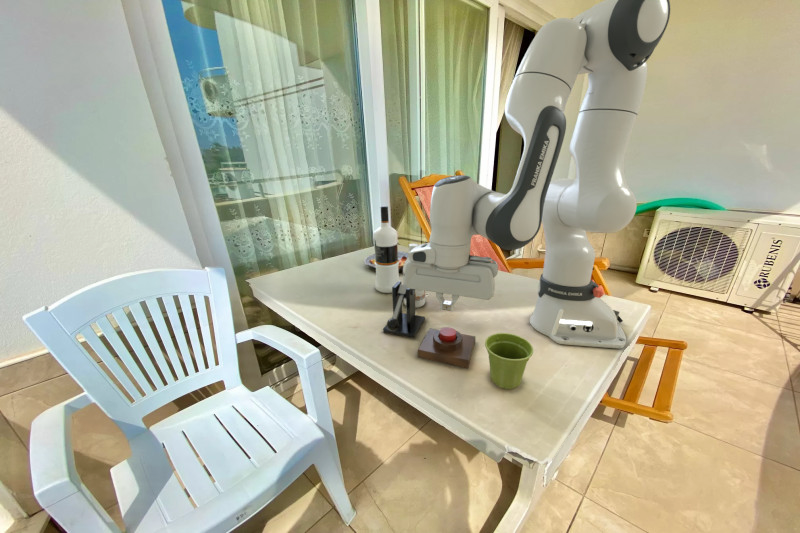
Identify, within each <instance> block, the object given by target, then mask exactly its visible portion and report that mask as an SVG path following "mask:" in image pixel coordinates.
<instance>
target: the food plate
mask: <svg viewBox="0 0 800 533" xmlns="http://www.w3.org/2000/svg"><path fill="white" fill-rule="evenodd" d="M408 254H409V252H407V251H400V250H399V251H398V262H399V264H398V271H399V272H400V271H403V266H404V263H405V261H406V260H407V258H408ZM375 263H376V262H375V253H373V254H371V255H368V256H367V257H365V259H364V264H365V265H367V266H370V267H371V268H373V269H374V268H375V269H376V265H375Z"/></svg>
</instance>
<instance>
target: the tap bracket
mask: <svg viewBox="0 0 800 533" xmlns="http://www.w3.org/2000/svg"><path fill="white" fill-rule="evenodd" d="M400 284H402V281H401V280H400V281H398V282H397V283H396V284H395V285H394V286H393V287H392V293H391V295H392V317H391V319H392V318H393V315H394V312H395V309H396V306H397V303H398V300H399V295H398V290H399V287H400ZM405 306H406V313H405V312H403V306H402V307H401V310H400V313H399V316H398V319H397V320H398V322H399V328H398V329H397V330H396V331H390V330H389V329H388V328H387V324H386V325H385V326H384V327H383V328H382V332H383V333H385V334H390V335H395V336H399V337H405V338H410V339H415V338H416V336H417V334H418V333H419V332H420V329H421V328H422V326H423V325H424V323H425V321H426V316H423V315H417V314H416V308H415V289H410V288H407V289H406V305H405Z"/></svg>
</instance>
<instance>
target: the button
mask: <svg viewBox="0 0 800 533" xmlns="http://www.w3.org/2000/svg"><path fill="white" fill-rule="evenodd" d="M439 330H440V336H439V337H440V339H441V340H442V341H445V342H453V341H455V340H456V331H457V330H456V329H454V327H449V326H446V327H442V328H440V329H439Z"/></svg>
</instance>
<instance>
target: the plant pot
mask: <svg viewBox="0 0 800 533" xmlns="http://www.w3.org/2000/svg"><path fill="white" fill-rule="evenodd" d="M484 346H485V349H486V352H487V354H488V361H489V362H488V363H489V374H490V380H491V381H492V382H493V383H494V384H495V385H496V386H497V387H499V388H501V389H504V390H513V389H515V388H518V387H520V385H521V382H522V379H523V376H524V373H525V369H526V366H527V363H528V362H529V360H530V358H532V356H533V355H534V347H533V345H532V343H530V341H529V340H527V339H526V338H524V337H521V336H519V335H517V334H515V333H514V334H513V333H508V332H498V333H493V334H491V335H488V336H487V337H486V339H485V341H484Z"/></svg>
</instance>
